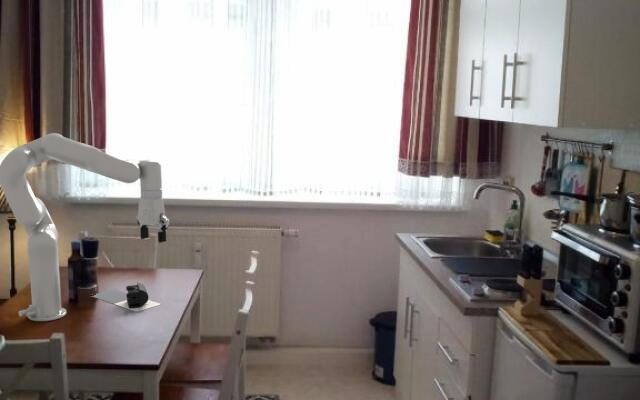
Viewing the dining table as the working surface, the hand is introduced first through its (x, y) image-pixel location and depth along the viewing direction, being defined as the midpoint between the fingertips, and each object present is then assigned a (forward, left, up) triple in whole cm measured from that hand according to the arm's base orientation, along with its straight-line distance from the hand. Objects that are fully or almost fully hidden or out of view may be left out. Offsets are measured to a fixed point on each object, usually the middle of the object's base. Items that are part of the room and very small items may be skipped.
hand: (153, 240), depth 244 cm
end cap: (-4, +6, -25) cm, 26 cm away
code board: (-4, +6, -25) cm, 26 cm away
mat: (-4, +21, -25) cm, 33 cm away
